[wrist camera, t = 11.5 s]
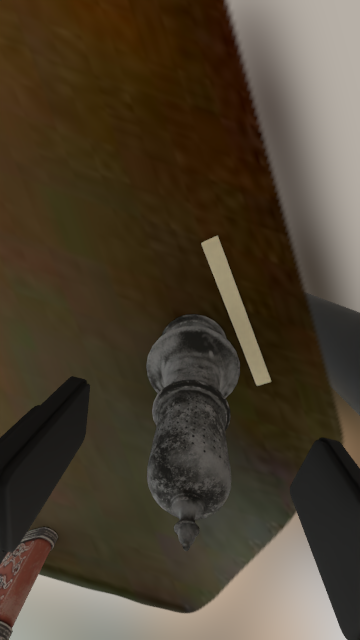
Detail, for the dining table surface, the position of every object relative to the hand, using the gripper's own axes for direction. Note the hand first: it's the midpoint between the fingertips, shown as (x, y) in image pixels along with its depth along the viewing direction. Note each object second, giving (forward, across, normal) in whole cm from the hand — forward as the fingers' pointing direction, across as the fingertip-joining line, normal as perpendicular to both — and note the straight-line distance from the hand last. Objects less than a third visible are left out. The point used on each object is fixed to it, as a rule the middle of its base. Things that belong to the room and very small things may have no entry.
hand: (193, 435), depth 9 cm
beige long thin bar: (+8, -2, -3) cm, 9 cm away
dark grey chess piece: (+9, 0, 0) cm, 9 cm away
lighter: (+8, +14, +31) cm, 35 cm away
